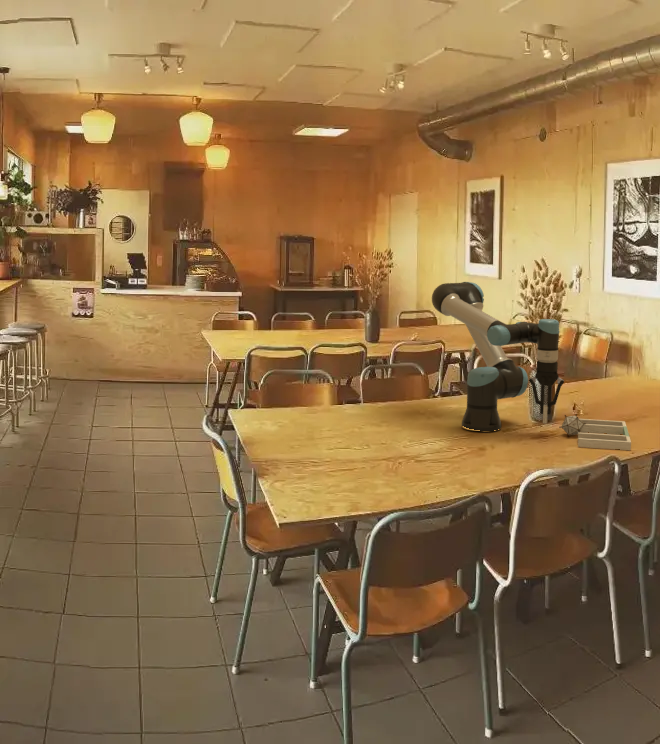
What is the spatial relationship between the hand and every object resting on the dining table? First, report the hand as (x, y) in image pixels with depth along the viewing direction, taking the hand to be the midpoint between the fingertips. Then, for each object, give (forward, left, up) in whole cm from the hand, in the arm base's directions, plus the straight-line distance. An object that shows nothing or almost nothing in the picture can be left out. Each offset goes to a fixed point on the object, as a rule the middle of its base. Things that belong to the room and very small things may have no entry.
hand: (544, 422), depth 309 cm
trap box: (+20, 0, -5) cm, 21 cm away
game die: (+10, 0, -5) cm, 11 cm away
